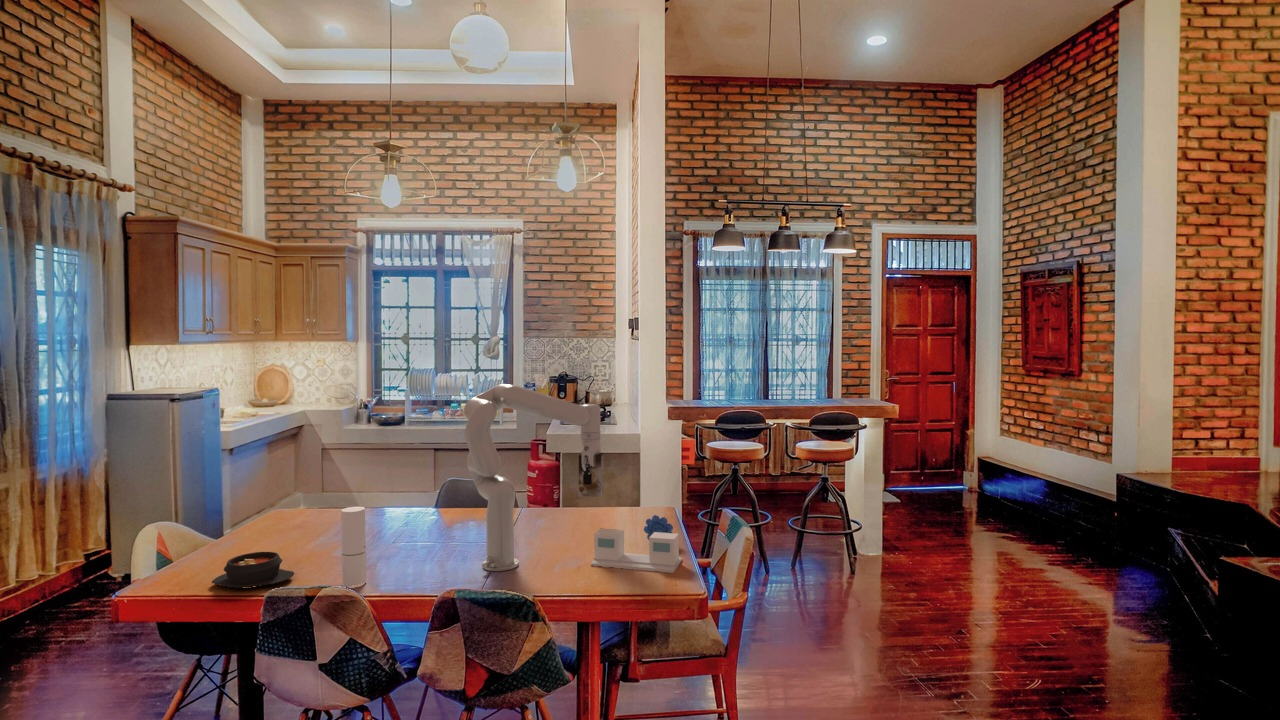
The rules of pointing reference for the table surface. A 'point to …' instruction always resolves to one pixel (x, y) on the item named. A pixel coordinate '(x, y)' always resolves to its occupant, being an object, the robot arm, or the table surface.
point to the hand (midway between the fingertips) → (590, 482)
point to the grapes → (657, 526)
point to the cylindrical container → (353, 546)
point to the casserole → (253, 570)
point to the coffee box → (597, 478)
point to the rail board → (613, 555)
